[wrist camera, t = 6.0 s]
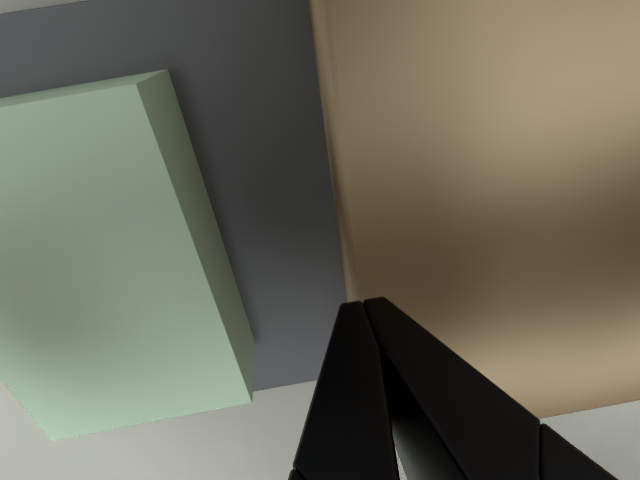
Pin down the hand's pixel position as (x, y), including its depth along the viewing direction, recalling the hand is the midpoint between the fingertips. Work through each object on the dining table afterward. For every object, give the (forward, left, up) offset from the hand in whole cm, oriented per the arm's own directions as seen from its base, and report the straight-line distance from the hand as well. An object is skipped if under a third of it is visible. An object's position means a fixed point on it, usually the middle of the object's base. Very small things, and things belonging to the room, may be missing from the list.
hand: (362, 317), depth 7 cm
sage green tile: (0, +6, -2) cm, 7 cm away
